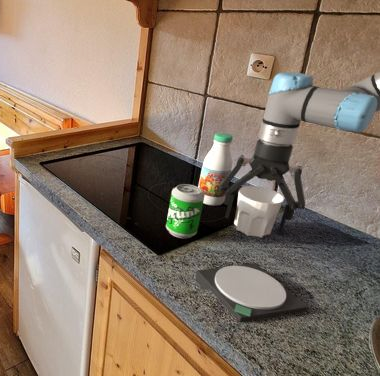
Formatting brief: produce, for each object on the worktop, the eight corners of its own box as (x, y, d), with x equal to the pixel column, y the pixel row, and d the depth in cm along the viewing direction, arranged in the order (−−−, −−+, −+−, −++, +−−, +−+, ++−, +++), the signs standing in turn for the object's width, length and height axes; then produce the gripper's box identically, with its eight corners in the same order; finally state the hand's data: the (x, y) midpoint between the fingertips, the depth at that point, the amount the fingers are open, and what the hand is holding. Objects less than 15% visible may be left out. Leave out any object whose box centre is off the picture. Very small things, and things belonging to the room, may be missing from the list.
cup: (246, 216, 110) (255, 183, 106) (281, 233, 102) (292, 198, 98) (222, 225, 106) (230, 190, 101) (257, 243, 98) (267, 207, 94)
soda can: (171, 221, 107) (178, 180, 101) (200, 230, 103) (209, 188, 98) (160, 233, 101) (168, 190, 96) (191, 243, 97) (200, 199, 92)
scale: (304, 317, 75) (309, 304, 74) (237, 328, 72) (241, 315, 71) (253, 271, 87) (256, 260, 86) (194, 279, 84) (196, 267, 83)
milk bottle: (191, 194, 122) (204, 130, 113) (215, 194, 123) (230, 130, 114) (203, 206, 115) (217, 139, 106) (228, 205, 116) (245, 139, 107)
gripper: (218, 136, 97) (201, 215, 106) (337, 156, 86) (306, 243, 95) (224, 129, 103) (207, 204, 112) (336, 147, 91) (307, 230, 100)
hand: (253, 222), depth 103 cm, fingers open, 12 cm apart
